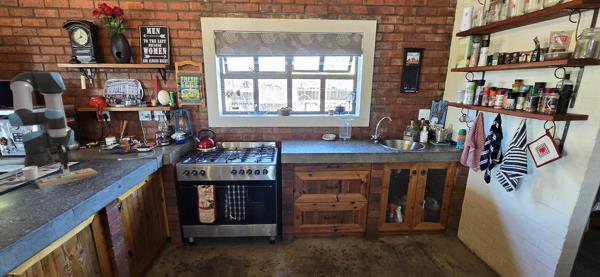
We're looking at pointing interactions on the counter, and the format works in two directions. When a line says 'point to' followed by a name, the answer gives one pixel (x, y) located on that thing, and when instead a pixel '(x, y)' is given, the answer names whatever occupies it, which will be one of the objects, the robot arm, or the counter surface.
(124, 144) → the figurine
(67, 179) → the board
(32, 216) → the counter surface
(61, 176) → the tile
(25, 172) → the cup
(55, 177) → the tile
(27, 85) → the robot arm
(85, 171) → the tile
